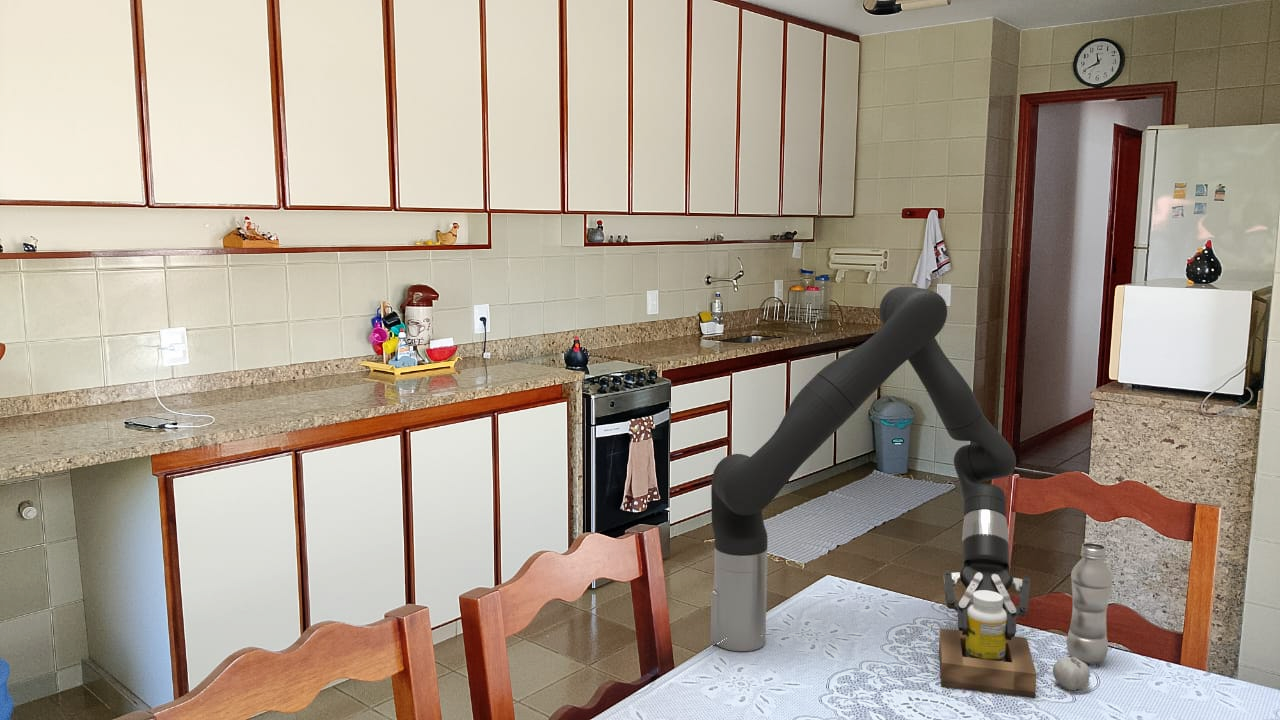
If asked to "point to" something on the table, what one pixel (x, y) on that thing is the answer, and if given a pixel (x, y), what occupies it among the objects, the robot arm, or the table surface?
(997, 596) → the pill bottle
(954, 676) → the wooden square tray
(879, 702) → the table surface
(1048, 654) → the table surface
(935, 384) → the robot arm
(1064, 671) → the garlic
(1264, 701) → the table surface
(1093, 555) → the plastic bottle
